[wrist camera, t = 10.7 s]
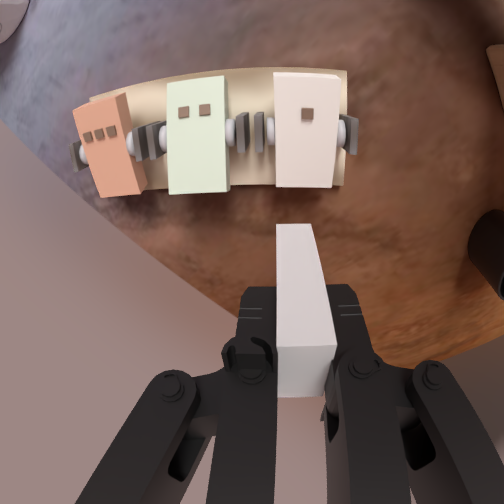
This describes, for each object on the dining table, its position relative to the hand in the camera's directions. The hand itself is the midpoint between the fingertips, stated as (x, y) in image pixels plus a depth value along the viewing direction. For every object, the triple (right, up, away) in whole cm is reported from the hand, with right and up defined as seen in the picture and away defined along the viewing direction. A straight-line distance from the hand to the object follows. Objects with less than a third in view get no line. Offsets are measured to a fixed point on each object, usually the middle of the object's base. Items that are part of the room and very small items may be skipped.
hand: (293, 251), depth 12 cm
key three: (-15, +11, +11) cm, 22 cm away
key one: (+3, +11, +9) cm, 14 cm away
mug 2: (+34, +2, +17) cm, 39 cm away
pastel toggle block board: (-6, +13, +13) cm, 19 cm away
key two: (-6, +10, +10) cm, 16 cm away
